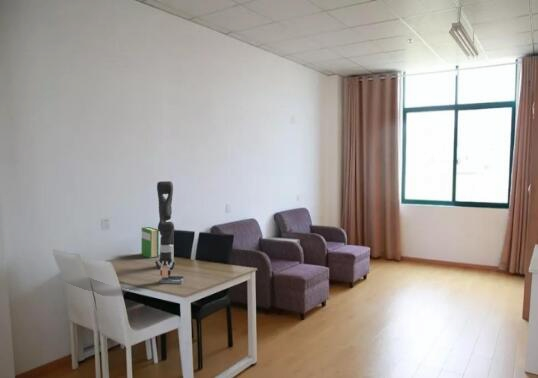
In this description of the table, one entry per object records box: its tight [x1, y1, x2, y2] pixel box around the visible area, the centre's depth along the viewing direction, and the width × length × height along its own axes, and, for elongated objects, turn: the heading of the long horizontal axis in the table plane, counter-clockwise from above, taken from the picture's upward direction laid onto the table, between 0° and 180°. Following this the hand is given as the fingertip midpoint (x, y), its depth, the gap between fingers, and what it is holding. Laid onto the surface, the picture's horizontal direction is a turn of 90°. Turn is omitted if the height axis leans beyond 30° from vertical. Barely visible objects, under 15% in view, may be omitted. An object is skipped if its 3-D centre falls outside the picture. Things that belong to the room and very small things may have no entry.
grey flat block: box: [158, 275, 185, 285], centre depth 269 cm, size 8×15×3 cm, turn 90°
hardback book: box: [141, 226, 160, 259], centre depth 343 cm, size 18×7×24 cm, turn 42°
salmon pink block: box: [161, 266, 169, 278], centre depth 269 cm, size 4×4×7 cm
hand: (165, 275), depth 269 cm, fingers closed on salmon pink block, 4 cm apart
